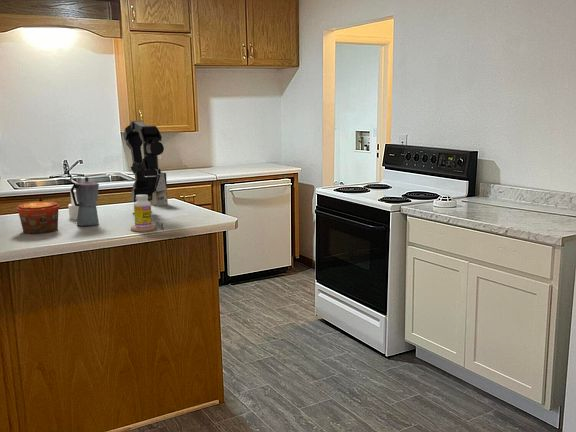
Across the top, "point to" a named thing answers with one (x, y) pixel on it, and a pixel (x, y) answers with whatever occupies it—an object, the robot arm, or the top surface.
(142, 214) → the supplement bottle
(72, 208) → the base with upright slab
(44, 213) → the food container
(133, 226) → the coaster
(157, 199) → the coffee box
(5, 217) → the top surface
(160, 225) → the low wall
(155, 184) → the robot arm
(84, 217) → the moka pot
